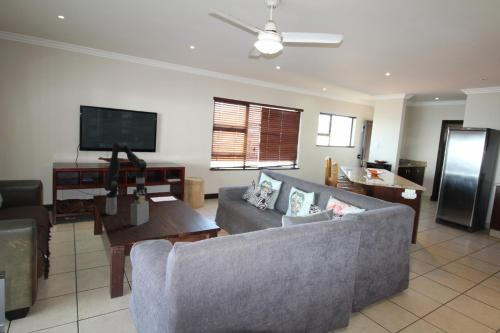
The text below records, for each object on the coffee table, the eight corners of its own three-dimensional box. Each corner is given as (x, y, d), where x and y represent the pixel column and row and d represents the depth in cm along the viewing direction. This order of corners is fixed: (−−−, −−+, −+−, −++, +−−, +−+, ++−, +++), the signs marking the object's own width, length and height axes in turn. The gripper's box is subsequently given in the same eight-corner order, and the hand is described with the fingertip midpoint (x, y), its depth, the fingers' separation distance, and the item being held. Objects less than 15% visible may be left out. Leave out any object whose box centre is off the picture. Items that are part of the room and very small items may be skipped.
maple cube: (135, 202, 264) (135, 196, 263) (140, 201, 269) (140, 194, 268) (139, 203, 261) (139, 197, 261) (144, 202, 267) (145, 196, 266)
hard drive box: (142, 219, 277) (142, 199, 274) (148, 221, 274) (149, 201, 271) (130, 224, 263) (130, 203, 260) (136, 226, 260) (137, 204, 257)
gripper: (143, 180, 271) (143, 197, 273) (131, 182, 258) (131, 200, 260) (149, 181, 268) (148, 198, 270) (137, 184, 255) (137, 201, 257)
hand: (140, 199), depth 265 cm, fingers open, 8 cm apart
